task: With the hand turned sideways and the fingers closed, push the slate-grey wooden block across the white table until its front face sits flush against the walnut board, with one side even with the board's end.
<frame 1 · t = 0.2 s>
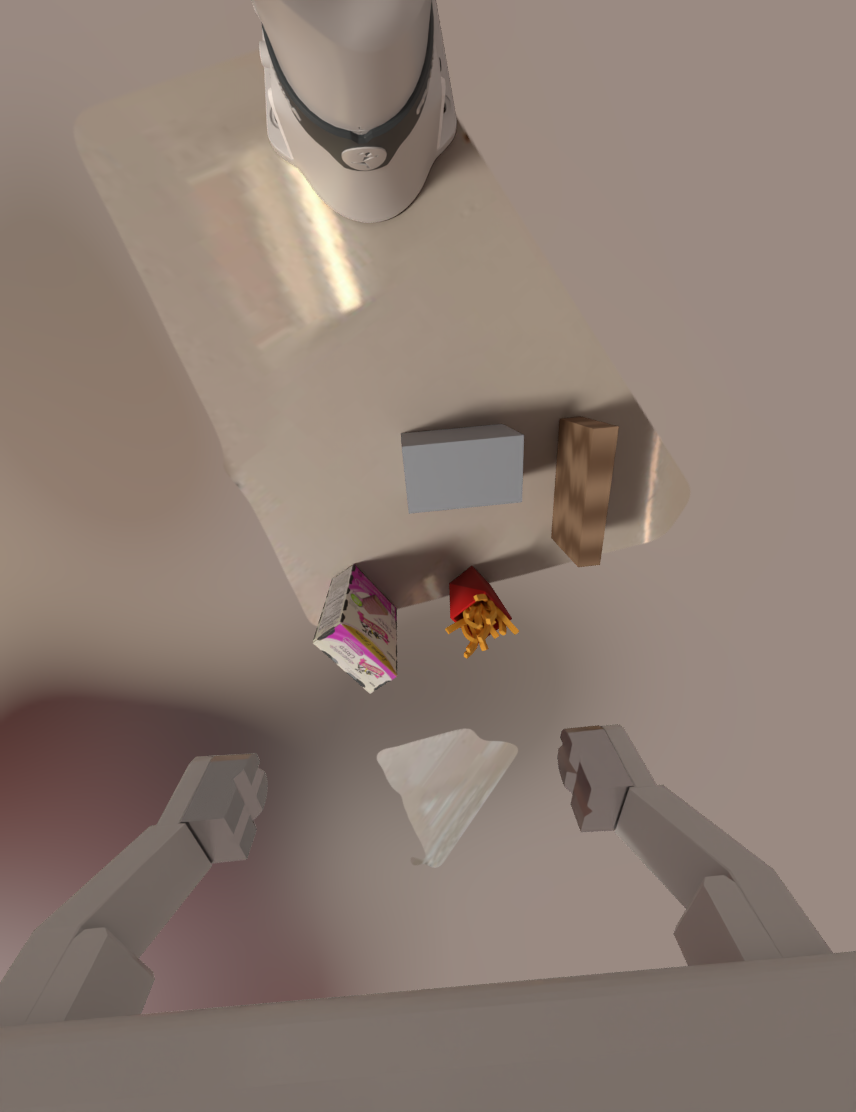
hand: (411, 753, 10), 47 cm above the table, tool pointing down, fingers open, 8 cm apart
slate block: (453, 457, 54), on the table
candy bar box: (365, 592, 63), on the table
walnut board: (565, 481, 57), on the table
french fries: (462, 582, 63), on the table
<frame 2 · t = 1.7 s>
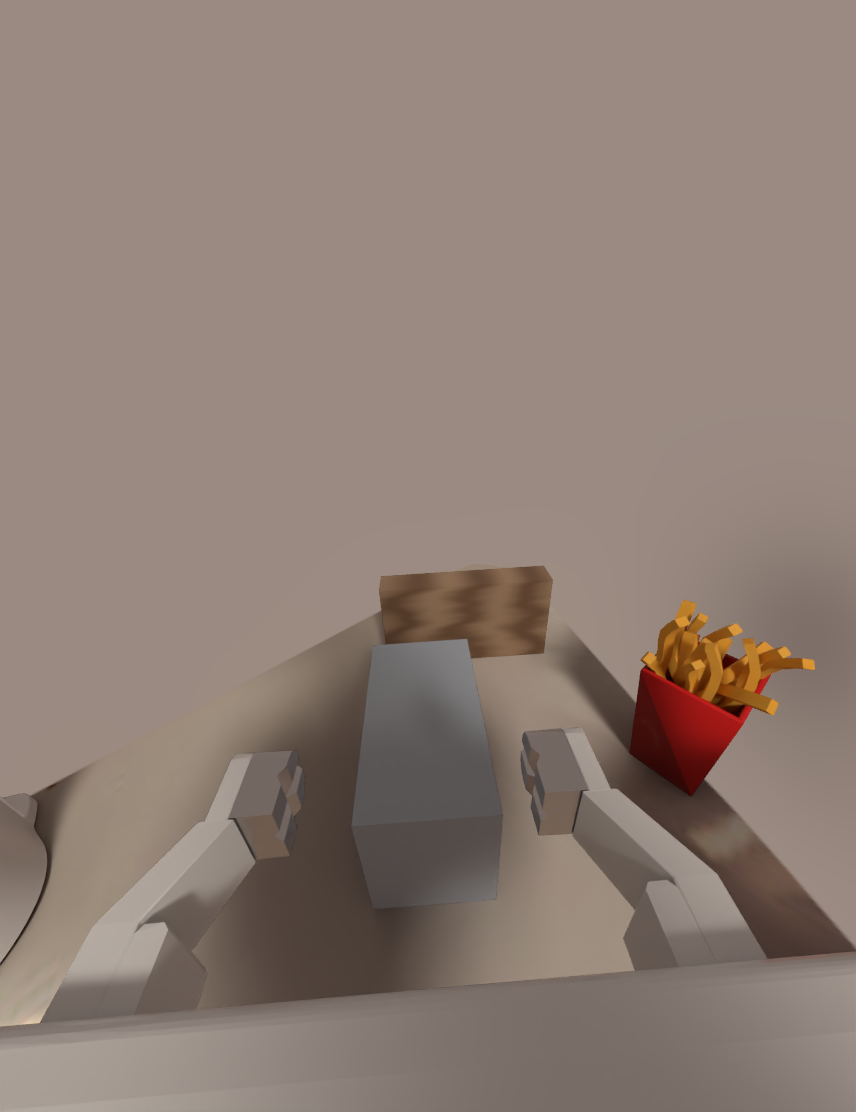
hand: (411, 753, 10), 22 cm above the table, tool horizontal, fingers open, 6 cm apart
slate block: (429, 795, 31), on the table
walnut board: (464, 649, 46), on the table
french fries: (675, 771, 32), on the table
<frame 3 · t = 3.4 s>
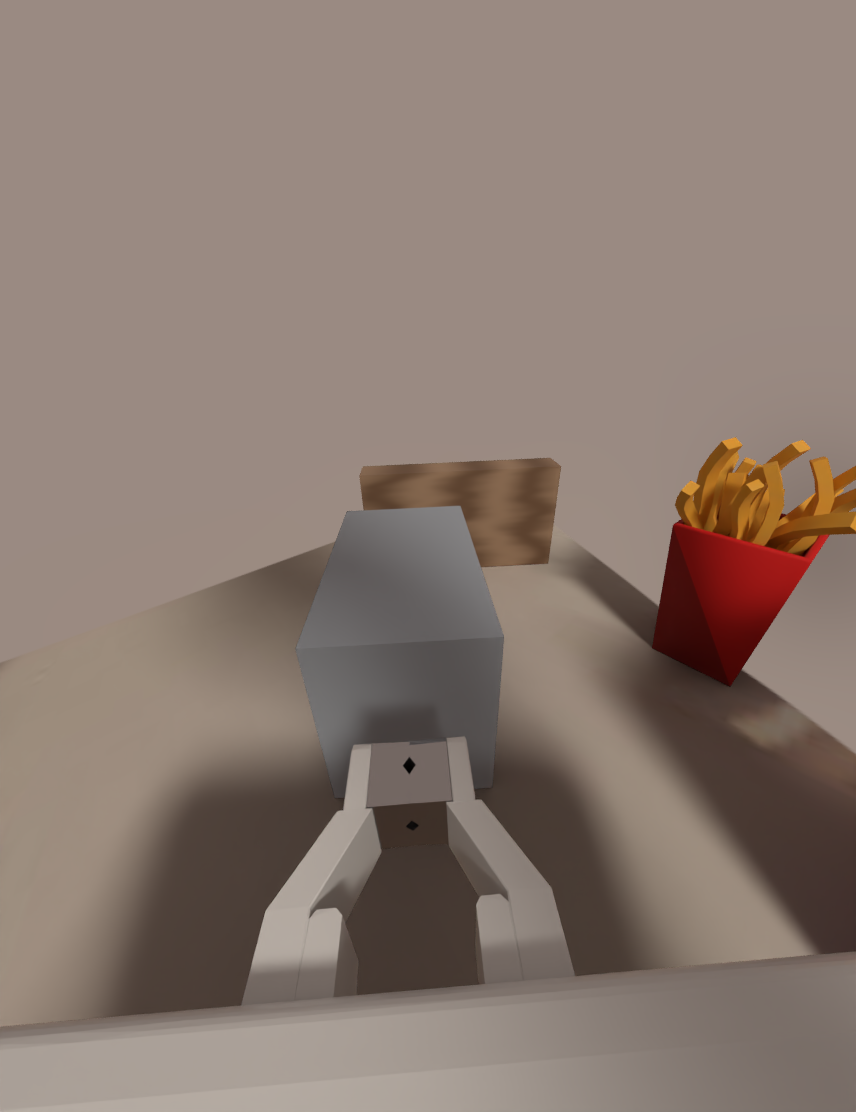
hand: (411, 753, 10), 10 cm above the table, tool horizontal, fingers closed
slate block: (412, 686, 26), on the table
walnut board: (458, 560, 40), on the table
french fries: (707, 664, 27), on the table
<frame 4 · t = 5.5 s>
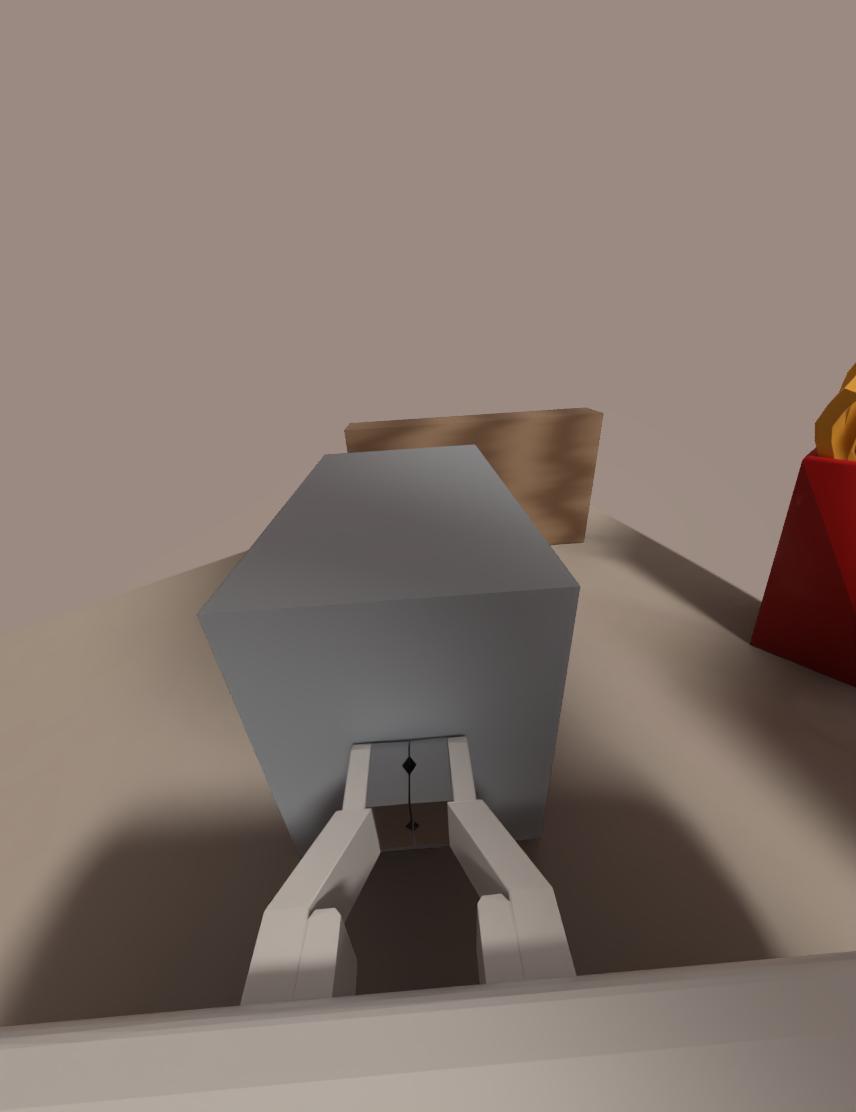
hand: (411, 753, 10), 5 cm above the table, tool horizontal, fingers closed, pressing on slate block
slate block: (416, 686, 19), on the table, touching gripper
walnut board: (471, 542, 32), on the table
french fries: (835, 665, 19), on the table
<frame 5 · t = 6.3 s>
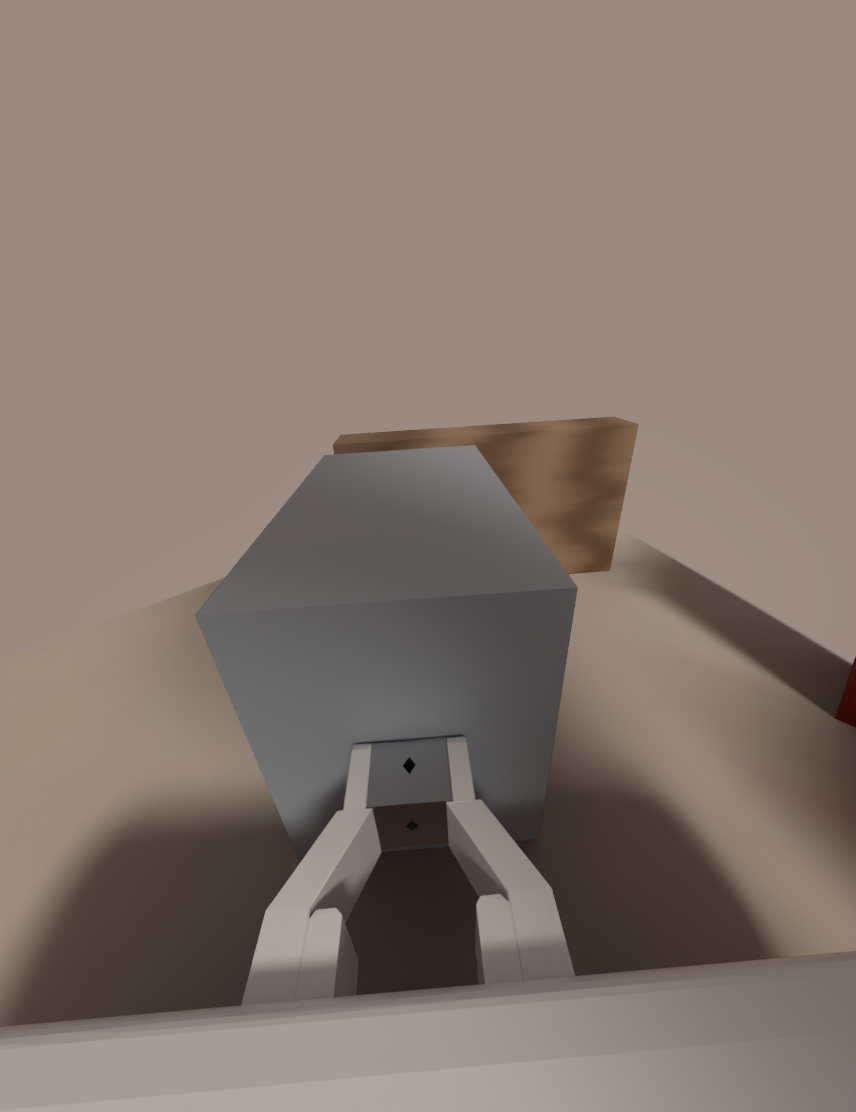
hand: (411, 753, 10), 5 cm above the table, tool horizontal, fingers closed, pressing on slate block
slate block: (415, 686, 19), on the table, touching gripper
walnut board: (480, 569, 28), on the table
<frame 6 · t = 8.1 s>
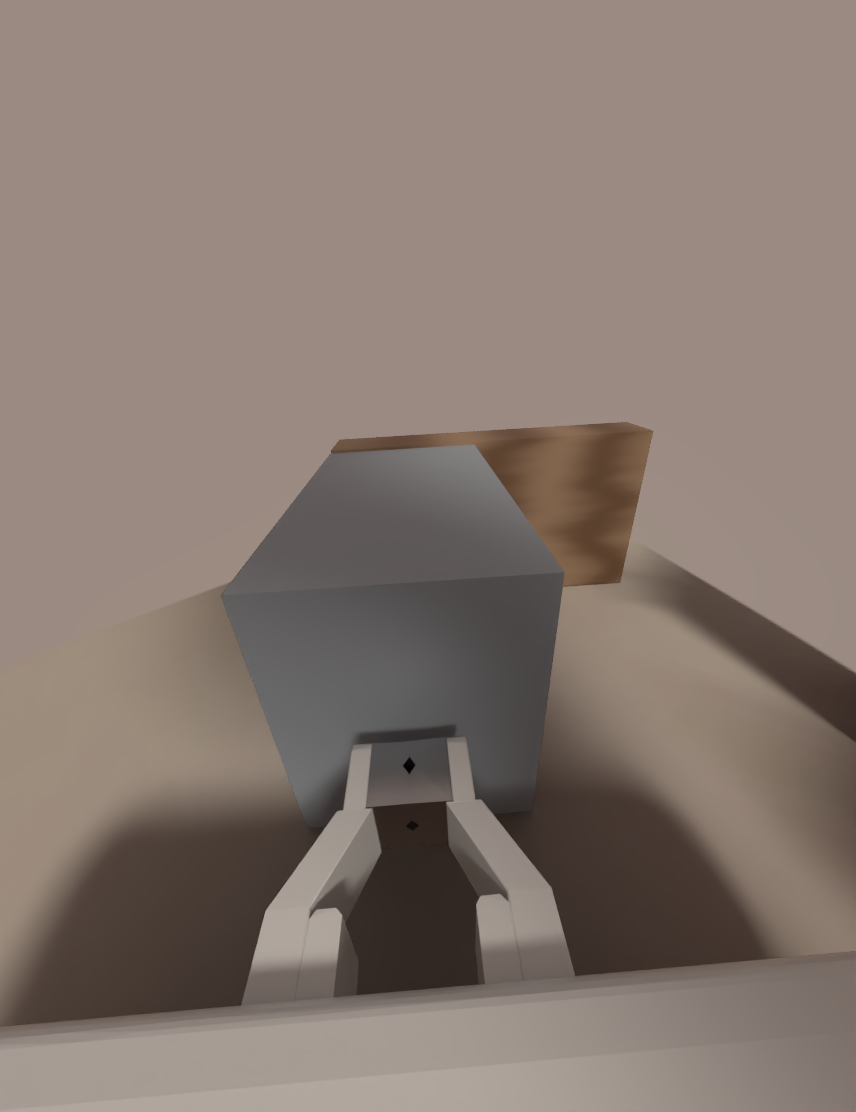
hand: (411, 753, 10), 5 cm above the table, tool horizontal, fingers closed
slate block: (416, 674, 20), on the table
walnut board: (484, 579, 27), on the table
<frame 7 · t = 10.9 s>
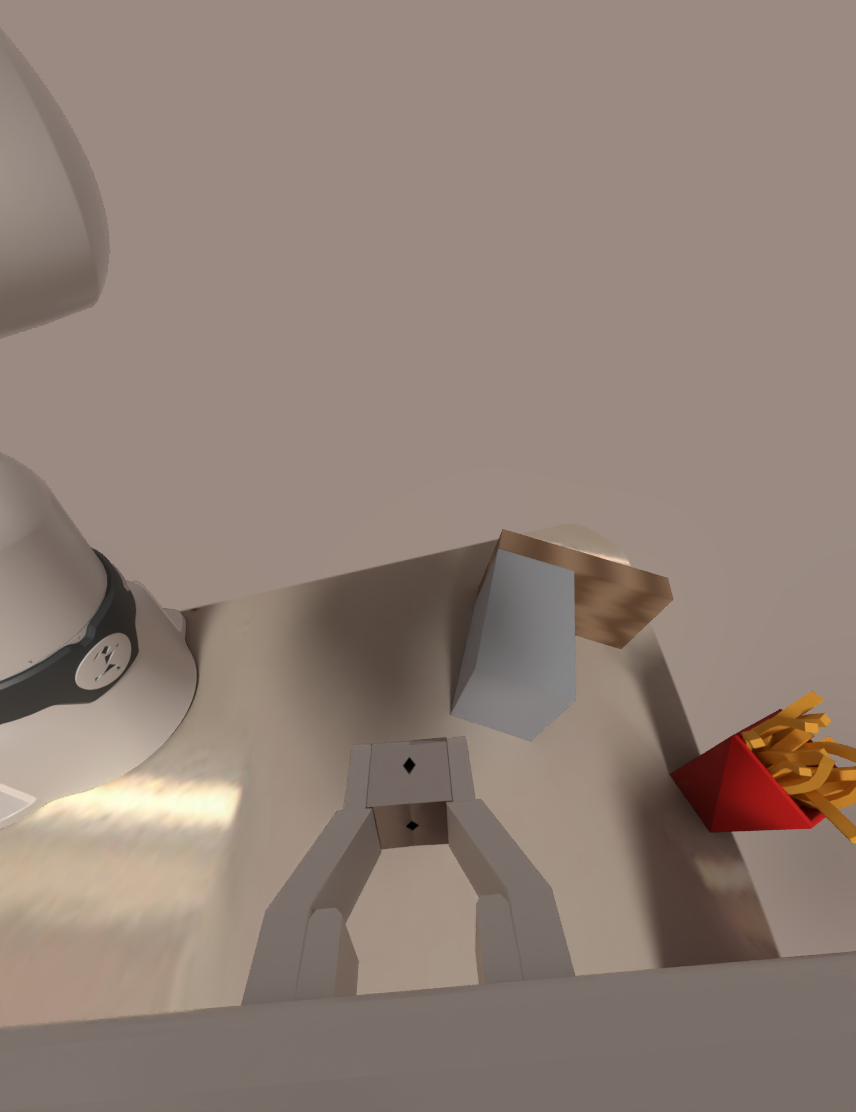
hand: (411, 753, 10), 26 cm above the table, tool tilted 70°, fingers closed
slate block: (499, 664, 42), on the table
walnut board: (547, 616, 47), on the table
french fries: (704, 805, 35), on the table
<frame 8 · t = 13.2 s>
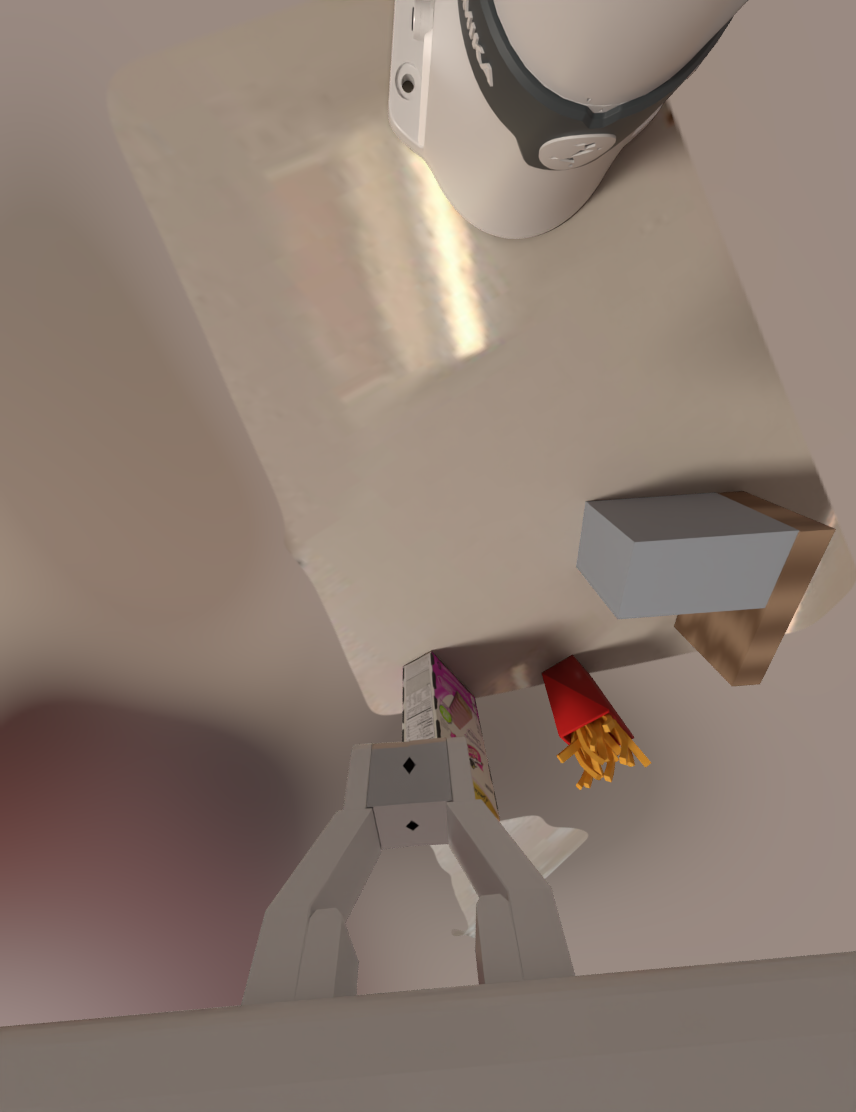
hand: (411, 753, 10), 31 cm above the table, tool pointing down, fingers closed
slate block: (642, 530, 43), on the table
candy bar box: (440, 680, 52), on the table
walnut board: (705, 565, 45), on the table
french fries: (556, 671, 52), on the table
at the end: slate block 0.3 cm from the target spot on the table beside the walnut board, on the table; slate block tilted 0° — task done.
